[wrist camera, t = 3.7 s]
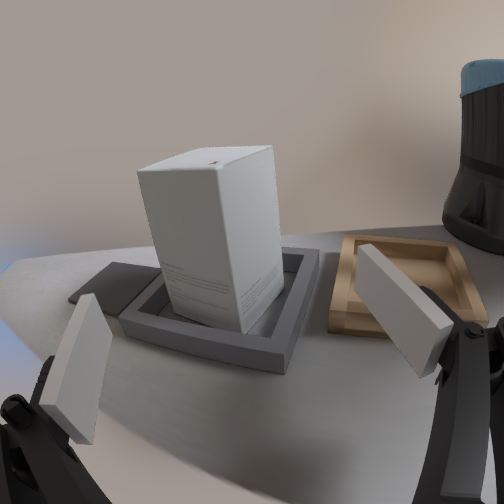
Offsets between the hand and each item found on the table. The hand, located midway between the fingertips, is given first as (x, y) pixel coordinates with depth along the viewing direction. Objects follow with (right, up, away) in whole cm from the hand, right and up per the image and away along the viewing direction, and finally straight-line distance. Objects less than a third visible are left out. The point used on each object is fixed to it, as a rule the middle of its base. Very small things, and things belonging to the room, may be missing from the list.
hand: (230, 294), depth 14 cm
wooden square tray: (+14, -1, +10) cm, 18 cm away
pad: (-14, -2, +16) cm, 21 cm away
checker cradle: (-1, -2, +12) cm, 12 cm away
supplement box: (-1, -2, +12) cm, 12 cm away
